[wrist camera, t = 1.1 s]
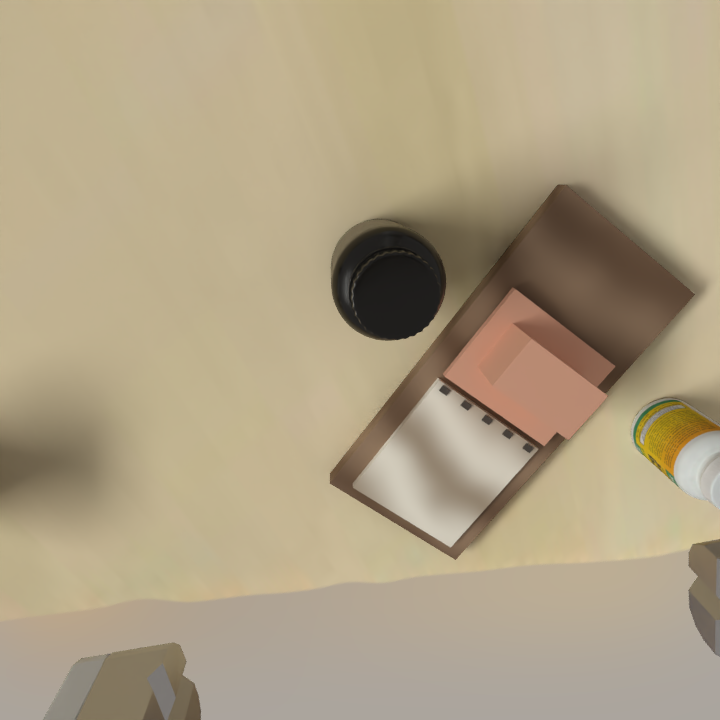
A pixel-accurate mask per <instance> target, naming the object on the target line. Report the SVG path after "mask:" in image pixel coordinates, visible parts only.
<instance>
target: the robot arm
mask: <svg viewBox="0 0 720 720" xmlns="http://www.w3.org/2000/svg"><path fill="white" fill-rule="evenodd" d="M689 567H690V568H691V569H692V570H693V571H694V573H696V575H697V576H698V577H697V579H696V580H695V581H694V583H693V584H692V586H691V587H690V589H689V607H690V611H691V614H692V616H693V619H694V622H695V625H696V627H697V629H698V631H699V632H700V634H701V636H702V638H703V639H704V641H705V642H706V643H707V645H708V646H709V647H710V648H711V650H712V651H713V652H714V653H715V654H716V655H718V656H720V539H717V540H712V541H707V542H702V543H697V544H693V545H692V547H691V549H690V551H689ZM185 664H186V659H185V656H184V654H183V651H182V649H181V646H180V645H179V644H176V643H168V644H162V645H156V646H150V647H144V648H137V649H131V650H126V651H119V652H113V653H112V654H105V655H99V656H93V657H87V658H81V659H80V660H79V661H77V662H76V663H75V664H74V665H73V666H72V667H71V669H70V671H69V673H68V675H67V677H66V678H65V680H64V682H63V684H62V686H61V687H60V689H59V691H58V693H57V695H56V697H55V699H54V700H53V702H52V704H51V706H50V708H49V710H48V711H47V714H46V715H45V717H44V719H43V720H201V709H200V702H199V696H198V693H197V690H196V687H195V684H194V683H193V682H192V681H190V680H189V679H187V678H186V677H184V676H183V671H184V668H185Z"/></svg>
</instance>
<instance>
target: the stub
mask: <svg viewBox="0 0 720 720" xmlns="http://www.w3.org/2000/svg"><path fill="white" fill-rule="evenodd" d="M614 368H615V365H613V364H612V363H611V362H609V361H608V360H607V359H605V358H604V357H603V356H602V355H600V354H599V353H598V352H596V351H595V350H594V349H593V348H591V347H590V346H589V345H587V344H586V343H585V342H583V341H582V340H581V339H580V338H578V337H577V336H576V335H574V334H573V333H572V332H571V331H569V330H568V329H567V328H565V327H564V326H563V325H561V324H560V323H559V322H558V321H556V320H555V319H554V318H552V317H551V316H550V315H548V314H547V313H546V312H545V311H543V310H542V309H541V308H539V307H538V306H537V305H536V304H534V303H533V302H532V301H530V300H529V299H528V298H526V297H525V296H524V295H523V294H521V293H520V292H519V291H517V290H516V289H515V288H513V287H512V289H511V290H510V291H509V292H508V294H507V295H506V296H505V297H504V299H503V300H502V301H501V302H500V304H499V305H498V306H497V307H496V309H495V310H494V311H493V312H492V313H491V315H490V316H489V317H488V318H487V320H486V321H485V322H484V323H483V325H482V326H481V327H480V328H479V330H478V331H477V332H476V333H475V335H474V336H473V337H472V338H471V340H470V341H469V342H468V343H467V344H466V346H465V347H464V348H463V349H462V351H461V352H460V353H459V354H458V356H457V357H456V358H455V359H454V361H453V362H452V363H451V364H450V366H449V367H448V368H447V369H446V371H445V372H444V373H443V375H444V376H445V377H446V378H447V379H449V380H450V381H452V382H453V383H455V384H456V385H457V386H459V387H460V388H462V389H463V390H465V391H466V392H467V393H469V394H470V395H472V396H473V397H475V398H476V399H477V400H479V401H480V402H482V403H483V404H485V405H486V406H487V407H489V408H490V409H492V410H493V411H495V412H496V413H497V414H499V415H500V416H502V417H503V418H505V419H506V420H507V421H509V422H510V423H512V424H513V425H515V426H516V427H517V428H519V429H520V430H522V431H523V432H525V433H526V434H528V435H529V436H530V437H532V438H533V439H535V440H536V441H538V442H539V443H540V444H542V445H543V446H545V445H546V444H547V443H548V441H549V440H550V439H551V438H552V437H553V436H554V435H555V434H556V432H558V433H559V434H560V435H562V436H563V437H565V438H566V439H567V440H569V439H570V438H571V437H572V436H573V435H574V433H575V432H576V431H577V430H578V429H579V428H580V427H581V426H582V425H583V424H584V422H585V421H586V420H587V419H588V418H589V417H590V416H591V415H592V414H593V412H594V411H595V410H596V409H597V408H598V407H599V406H600V405H601V404H602V403H603V401H604V400H605V399H606V398H607V397H608V396H607V395H606V394H605V393H603V392H602V391H601V390H600V389H598V388H597V387H598V385H599V384H600V383H601V382H602V381H603V380H604V379H605V378H606V377H607V375H608V374H609V373H610V372H611V371H612V370H613V369H614Z"/></svg>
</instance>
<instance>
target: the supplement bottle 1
mask: <svg viewBox="0 0 720 720" xmlns="http://www.w3.org/2000/svg"><path fill="white" fill-rule="evenodd" d="M331 288H332V295H333V299H334V302H335V305H336V307H337V309H338V311H339V313H340V315H341V316H342V318H343V319H344V320H345V321H346V323H347V324H348V325H349V326H350V327H352V328H353V329H354V330H355V331H357V332H359V333H360V334H362V335H364V336H367V337H369V338H373V339H377V340H385V341H389V340H399V339H403V338H404V339H406V338H408V337H409V336H415V335H416V334H417V333H418V332H421V331H422V330H423V329H424V328H425V327H427V326H428V325H429V323H430V322H431V321H432V320H433V319H434V317H435V315H436V314H437V312H438V310H439V309H440V307H441V304H442V302H443V299H444V295H445V289H446V275H445V270H444V266H443V263H442V260H441V258H440V256H439V254H438V253H437V251H436V250H435V248H434V247H433V246H432V245H431V243H430V242H429V241H428V240H426V239H425V238H424V237H423V236H421V235H420V234H418V233H417V232H415V231H413V230H411V229H409V228H407V227H405V226H403V225H401V224H399V223H397V222H393V221H390V220H384V219H373V220H368V221H364V222H361V223H359V224H357V225H355V226H354V227H352V228H351V229H349V230H348V231H347V232H346V233H345V234H344V235H343V236H342V237H341V239H340V240H339V242H338V243H337V245H336V247H335V250H334V252H333V256H332V261H331Z"/></svg>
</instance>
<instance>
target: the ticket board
mask: <svg viewBox="0 0 720 720" xmlns="http://www.w3.org/2000/svg"><path fill="white" fill-rule="evenodd" d="M512 287H513V288H515V289H516V290H517V291H519V292H520V293H521V294H523V295H524V296H525V297H526V298H528V299H529V300H530V301H532V302H533V303H534V304H536V305H537V306H538V307H539V308H541V309H542V310H543V311H545V312H546V313H547V314H548V315H550V316H551V317H552V318H554V319H555V320H556V321H558V322H559V323H560V324H561V325H563V326H564V327H565V328H567V329H568V330H569V331H571V332H572V333H573V334H574V335H576V336H577V337H578V338H580V339H581V340H582V341H583V342H585V343H586V344H587V345H589V346H590V347H591V348H593V349H594V350H595V351H596V352H598V353H599V354H600V355H602V356H603V357H604V358H605V359H607V360H608V361H609V362H611V363H612V364H613V365H615V368H614V369H613V370H612V371H611V372H610V373H609V374H608V375H607V377H606V378H605V379H604V380H603V381H602V382H601V383H600V384H599V385H598V387H597V388H598V389H600V390H601V391H602V392H603V393H606V392H607V391H608V390H609V389H610V388H611V387H612V386H613V385H614V383H615V382H616V381H617V380H618V379H619V378H620V377H621V376H622V375H623V374H624V372H625V371H626V370H627V369H628V368H629V367H630V366H631V365H632V364H633V362H634V361H635V360H636V359H637V358H638V357H639V356H640V355H641V354H642V352H643V351H644V350H645V349H646V348H647V347H648V346H649V345H650V344H651V342H652V341H653V340H654V339H655V338H656V337H657V336H658V335H659V334H660V332H661V331H662V330H663V329H664V328H665V327H666V326H667V325H668V324H669V322H670V321H671V320H672V319H673V318H674V317H675V316H676V315H677V314H678V313H679V311H680V310H681V309H682V308H683V307H684V306H685V305H686V304H687V303H688V301H689V300H690V299H691V298H692V297H693V296H694V295H695V294H694V293H693V292H691V291H690V290H689V289H688V288H687V287H686V286H684V285H683V284H682V283H681V282H680V281H679V280H677V279H676V278H675V277H674V276H673V275H671V274H670V273H669V272H668V271H667V270H666V269H664V268H663V267H662V266H661V265H660V264H659V263H657V262H656V261H655V260H654V259H653V258H651V257H650V256H649V255H648V254H647V253H646V252H644V251H643V250H642V249H641V248H640V247H639V246H637V245H636V244H635V243H634V242H633V241H631V240H630V239H629V238H628V237H627V236H626V235H624V234H623V233H622V232H621V231H620V230H619V229H617V228H616V227H615V226H614V225H613V224H611V223H610V222H609V221H608V220H607V219H606V218H604V217H603V216H602V215H601V214H600V213H599V212H597V211H596V210H595V209H594V208H593V207H591V206H590V205H589V204H588V203H587V202H586V201H584V200H583V199H582V198H581V197H580V196H579V195H577V194H576V193H575V192H574V191H573V190H572V189H570V188H569V187H568V186H567V185H557V187H556V188H555V189H554V190H553V192H552V193H551V194H550V195H549V197H548V198H547V199H546V201H545V202H544V203H543V204H542V206H541V207H540V208H539V209H538V211H537V212H536V213H535V214H534V216H533V217H532V218H531V220H530V221H529V222H528V223H527V225H526V226H525V227H524V228H523V230H522V231H521V232H520V233H519V235H518V236H517V237H516V239H515V240H514V241H513V242H512V244H511V245H510V246H509V247H508V249H507V250H506V251H505V253H504V254H503V255H502V256H501V258H500V259H499V260H498V261H497V263H496V264H495V265H494V266H493V268H492V269H491V270H490V272H489V273H488V274H487V275H486V277H485V278H484V279H483V280H482V282H481V283H480V284H479V285H478V287H477V288H476V289H475V291H474V292H473V293H472V294H471V296H470V297H469V298H468V299H467V301H466V302H465V303H464V304H463V306H462V307H461V308H460V310H459V311H458V312H457V313H456V315H455V316H454V317H453V318H452V320H451V321H450V322H449V324H448V325H447V326H446V327H445V329H444V330H443V331H442V332H441V334H440V335H439V336H438V337H437V339H436V340H435V341H434V343H433V344H432V345H431V346H430V348H429V349H428V350H427V351H426V353H425V354H424V355H423V356H422V358H421V359H420V360H419V362H418V363H417V364H416V365H415V367H414V368H413V369H412V370H411V372H410V373H409V374H408V376H407V377H406V378H405V379H404V381H403V382H402V383H401V384H400V386H399V387H398V388H397V389H396V391H395V392H394V393H393V395H392V396H391V397H390V398H389V400H388V401H387V402H386V403H385V405H384V406H383V407H382V408H381V410H380V411H379V412H378V414H377V415H376V416H375V417H374V419H373V420H372V421H371V422H370V424H369V425H368V426H367V428H366V429H365V430H364V431H363V433H362V434H361V435H360V436H359V438H358V439H357V440H356V441H355V443H354V444H353V445H352V447H351V448H350V449H349V450H348V452H347V453H346V454H345V455H344V457H343V458H342V459H341V460H340V462H339V463H338V464H337V466H336V467H335V468H334V469H333V471H332V472H331V473H330V484H332V485H333V486H335V487H337V488H338V489H340V490H342V491H343V492H345V493H347V494H348V495H350V496H352V497H353V498H355V499H357V500H358V501H360V502H361V503H363V504H365V505H366V506H368V507H370V508H371V509H373V510H375V511H376V512H378V513H380V514H381V515H383V516H384V517H386V518H388V519H389V520H391V521H393V522H394V523H396V524H398V525H399V526H401V527H403V528H404V529H406V530H408V531H409V532H411V533H412V534H414V535H416V536H417V537H419V538H421V539H422V540H424V541H426V542H427V543H429V544H431V545H432V546H434V547H435V548H437V549H439V550H440V551H442V552H444V553H445V554H447V555H449V556H450V557H452V558H454V559H455V560H456V559H457V558H458V557H459V555H460V554H461V553H462V552H463V551H464V550H465V549H466V548H467V547H468V545H469V544H470V543H471V542H472V541H473V540H474V539H475V538H476V537H477V535H478V534H479V533H480V532H481V531H482V530H483V529H484V528H485V527H486V525H487V524H488V523H489V522H490V521H491V520H492V519H493V518H494V517H495V515H496V514H497V513H498V512H499V511H500V510H501V509H502V508H503V507H504V505H505V504H506V503H507V502H508V501H509V500H510V499H511V498H512V497H513V496H514V494H515V493H516V492H517V491H518V490H519V489H520V488H521V487H522V486H523V484H524V483H525V482H526V481H527V480H528V479H529V478H530V477H531V476H532V474H533V473H534V472H535V471H536V470H537V469H538V468H539V467H540V466H541V464H542V463H543V462H544V461H545V460H546V459H547V458H548V457H549V456H550V454H551V453H552V452H553V451H554V450H555V449H556V448H557V447H558V446H559V444H560V443H561V442H562V441H563V440H564V439H565V437H563V436H562V435H560V434H559V433H558V432H556V434H555V435H554V436H553V437H552V438H551V439H550V440H549V441H548V443H547V444H546V445H545V446H543V445H542V444H540V443H539V442H538V441H536V440H535V439H533V438H532V437H530V436H529V435H528V434H526V433H525V432H523V431H522V430H520V429H519V428H517V427H516V426H515V425H513V424H512V423H510V422H509V421H507V420H506V419H505V418H503V417H502V416H500V415H499V414H497V413H496V412H495V411H493V410H492V409H490V408H489V407H487V406H486V405H485V404H483V403H482V402H480V401H479V400H477V399H476V398H475V397H473V396H472V395H470V394H469V393H467V392H466V391H465V390H463V389H462V388H460V387H459V386H457V385H456V384H455V383H453V382H452V381H450V380H449V379H447V378H446V377H445V376H444V375H443V373H444V372H445V371H446V369H447V368H448V367H449V366H450V364H451V363H452V362H453V361H454V359H455V358H456V357H457V356H458V354H459V353H460V352H461V351H462V349H463V348H464V347H465V346H466V344H467V343H468V342H469V341H470V340H471V338H472V337H473V336H474V335H475V333H476V332H477V331H478V330H479V328H480V327H481V326H482V325H483V323H484V322H485V321H486V320H487V318H488V317H489V316H490V315H491V313H492V312H493V311H494V310H495V309H496V307H497V306H498V305H499V304H500V302H501V301H502V300H503V299H504V297H505V296H506V295H507V294H508V292H509V291H510V290H511V289H512Z"/></svg>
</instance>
